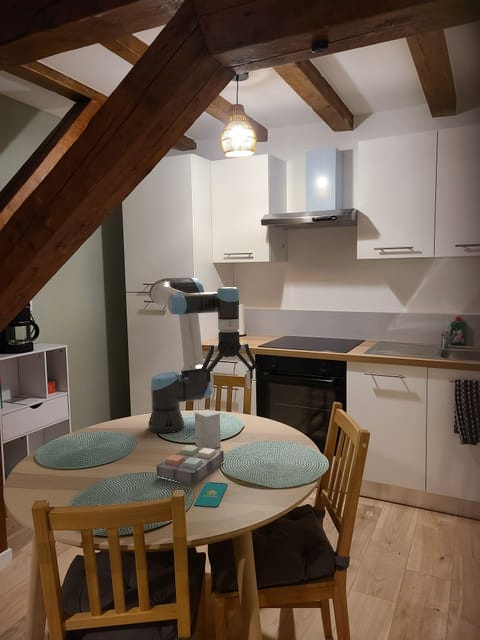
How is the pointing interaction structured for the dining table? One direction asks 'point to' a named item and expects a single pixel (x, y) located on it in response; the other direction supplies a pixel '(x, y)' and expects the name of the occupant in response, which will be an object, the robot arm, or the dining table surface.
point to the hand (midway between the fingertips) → (230, 389)
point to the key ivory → (206, 453)
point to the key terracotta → (175, 460)
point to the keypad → (190, 469)
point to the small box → (207, 429)
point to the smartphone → (211, 494)
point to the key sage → (190, 450)
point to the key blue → (192, 463)
